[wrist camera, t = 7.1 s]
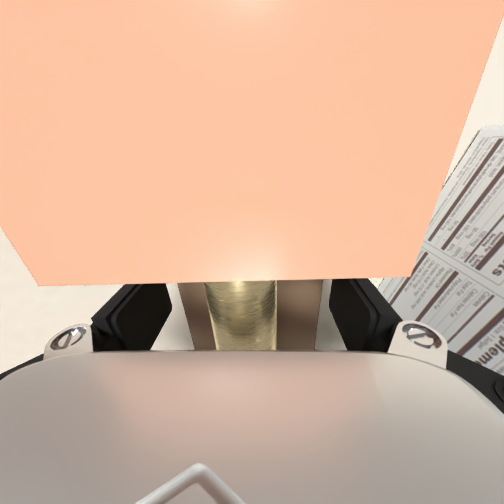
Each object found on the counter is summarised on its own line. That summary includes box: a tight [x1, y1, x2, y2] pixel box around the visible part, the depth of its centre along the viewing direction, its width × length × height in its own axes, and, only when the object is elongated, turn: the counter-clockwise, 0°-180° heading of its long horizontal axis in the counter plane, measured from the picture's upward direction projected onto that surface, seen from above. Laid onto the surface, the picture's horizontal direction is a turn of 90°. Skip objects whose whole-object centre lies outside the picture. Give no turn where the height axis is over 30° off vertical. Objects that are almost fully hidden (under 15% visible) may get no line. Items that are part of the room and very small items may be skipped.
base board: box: [177, 279, 323, 350], centre depth 16 cm, size 29×10×2 cm, turn 3°
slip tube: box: [204, 280, 277, 350], centre depth 11 cm, size 20×3×3 cm, turn 3°
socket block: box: [0, 0, 504, 286], centre depth 7 cm, size 5×8×8 cm, turn 93°
